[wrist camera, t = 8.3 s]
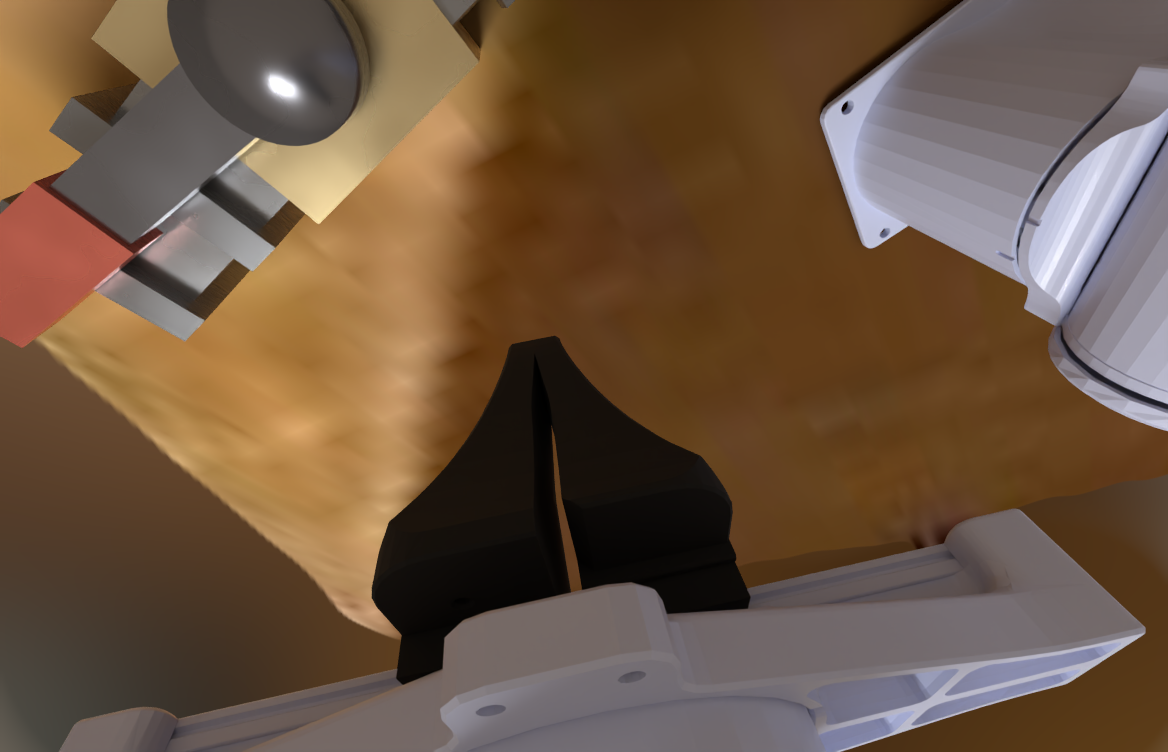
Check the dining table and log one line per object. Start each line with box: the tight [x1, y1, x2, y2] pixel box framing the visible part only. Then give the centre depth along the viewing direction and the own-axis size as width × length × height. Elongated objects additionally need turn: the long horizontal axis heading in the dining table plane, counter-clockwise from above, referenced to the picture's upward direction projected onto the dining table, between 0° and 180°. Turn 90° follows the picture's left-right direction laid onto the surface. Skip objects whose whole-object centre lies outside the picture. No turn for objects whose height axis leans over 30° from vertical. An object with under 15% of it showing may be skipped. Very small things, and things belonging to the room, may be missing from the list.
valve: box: [0, 0, 515, 341], centre depth 14 cm, size 20×6×5 cm, turn 127°
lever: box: [0, 0, 370, 348], centre depth 12 cm, size 13×4×2 cm, turn 121°
